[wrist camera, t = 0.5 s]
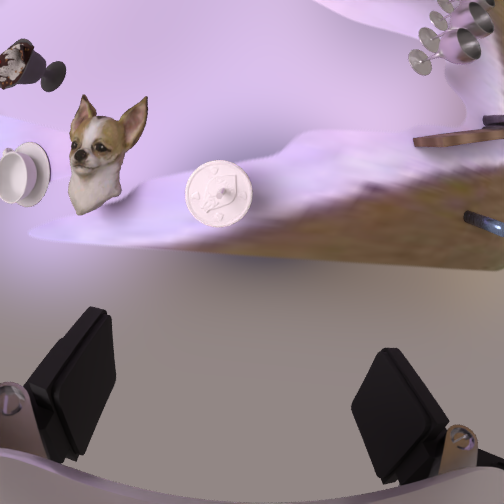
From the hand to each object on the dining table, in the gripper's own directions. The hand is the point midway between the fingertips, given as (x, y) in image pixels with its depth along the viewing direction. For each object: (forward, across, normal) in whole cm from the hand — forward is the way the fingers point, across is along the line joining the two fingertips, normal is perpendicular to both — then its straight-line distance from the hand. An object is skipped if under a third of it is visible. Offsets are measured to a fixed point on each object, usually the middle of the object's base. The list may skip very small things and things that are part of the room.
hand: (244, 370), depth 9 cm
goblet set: (+30, -25, -39) cm, 55 cm away
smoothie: (+30, +3, -3) cm, 30 cm away
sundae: (+30, +31, -16) cm, 46 cm away
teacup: (+30, +33, -1) cm, 45 cm away
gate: (+29, -30, -19) cm, 46 cm away
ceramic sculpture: (+30, +18, -5) cm, 35 cm away
